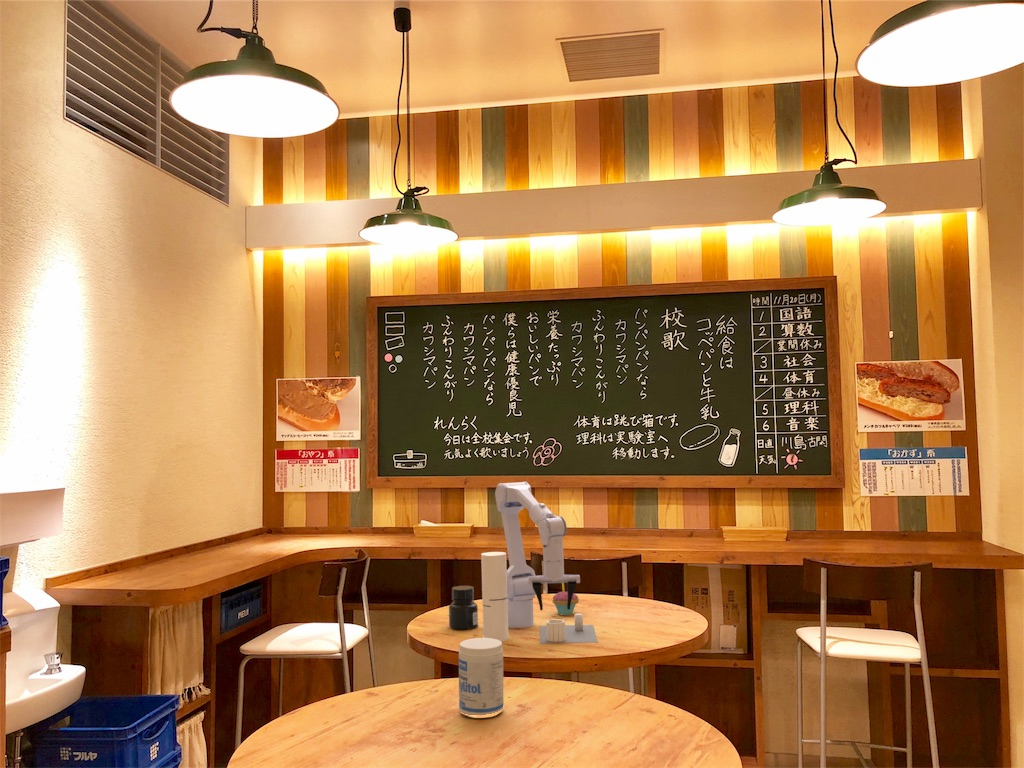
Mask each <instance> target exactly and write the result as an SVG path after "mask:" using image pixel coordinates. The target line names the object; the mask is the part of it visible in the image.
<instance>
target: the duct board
mask: <svg viewBox="0 0 1024 768" xmlns="http://www.w3.org/2000/svg"><path fill="white" fill-rule="evenodd" d="M587 643H588V644H589V643H590V644H591V643H599V641H598V637H597V634H596V630H595V626H594V624H584V615H583V613H574V624H573V625H572V624H571V625H570V624H569V625H568V624H567V625H566V624H565V640H564V641H560V642H551V641H547V632H546V625H539V644H542V645H543V644H545V645H546V644H548V645H549V644H587Z"/></svg>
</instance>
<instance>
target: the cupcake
mask: <svg viewBox="0 0 1024 768" xmlns="http://www.w3.org/2000/svg"><path fill="white" fill-rule="evenodd" d="M561 588H562V589H561V590H562V591H559V592H557V593H555V595H554V596H553V597H552V603H553V604H554V606H555V608H556V610H557V614H558V615H559V614H562V615H561V616H571V615H573V614H574V610H575V607H576V604H578V603H579V600H580V599H579V596H578V595H577V594H575V592H574V593H573V596H572V600H571V605H570V610H568V609H567V599H568V593H567V590H566V591H565V583H561ZM570 614H571V615H570Z"/></svg>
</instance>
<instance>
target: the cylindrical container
mask: <svg viewBox="0 0 1024 768" xmlns="http://www.w3.org/2000/svg"><path fill="white" fill-rule="evenodd" d="M480 555H481V556H480V557H481V558H480V559H481V561H480V563H481V591H482V592H481V593H482V594H481V597H482V599H481V600H482V602H481V603H482V628H483V629H482V630H483V631H482V632H483V637H482V638H492V639H497V640H500V641H501V642H502V643H503V642H506V641H509V636H510V634H509V628H508V625H509V624H508V601H507V553H506V552H504V551H487V552H482V553H480Z"/></svg>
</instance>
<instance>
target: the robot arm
mask: <svg viewBox="0 0 1024 768" xmlns="http://www.w3.org/2000/svg"><path fill="white" fill-rule="evenodd" d="M494 496H495V502H496V507H497V511H498V512H500V513H501V518H502V525H503V531H504V536H505V537H504V538H505V543H506V550H507V557H508V562H509V564H508V565H509V567H508V569H507V601H508V629H509V628H511V629H513V628H514V629H515V628H518V629H524V628H525V629H526V628H531V627H533V626H534V625H535V622H534V620H535V619H534V599H536V598H537V600H538V605H539V610H540V611H543V610H544V609H543V607H544V606H543V596H542V584H562V583H564V584H565V583H566V586H567V587H566V592H567V593H568V599H567V609H568V610H570V605H571V600H572V596H573V593H574V594H575V591H576V588H577V584H580V583H581V576H580V574H565V566H564V565H565V561H564V559H565V558H564V557H565V556H564V537H565V536H566V535H567V530H568V529H567V528H568V527H567V523H566V520H565V519H564V517H563V516H558V515H555V514H554V513H553V512H552V511H551V510H550V508H549V507H547V505H546V504H545V503H542V502H541V503H540V502H538V501H537V499H536V498H535V496H534V495H533V494H532V487H531V485H530V484H529V483H528V482H527V481H522V482H521V481H520V482H506V483H505V482H504V483H503V482H499V483H498V484H497V486H496V488H495V492H494ZM524 508H525V509H526V510H527V511H528V515H529V516H528V517H529V518H530V520H532V522H533V523H534V524H535V525H536V526H537V527H538V530H537V531H538V534H539V536H540V537H539V538H540V543H541V545H542V553H543V555H542V558H543V559H542V560H543V574H542V575H540V574H539V575H536V573H535V572H536V571H535V570H534V569H533V568H532V567H531V566H530V565H527V561H526V555H525V549H524V544H523V543H524V542H523V536H522V531H521V525H520V519H519V513H520V511H522V510H524Z"/></svg>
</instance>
